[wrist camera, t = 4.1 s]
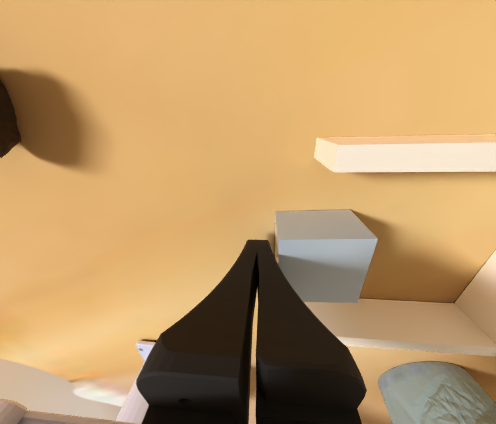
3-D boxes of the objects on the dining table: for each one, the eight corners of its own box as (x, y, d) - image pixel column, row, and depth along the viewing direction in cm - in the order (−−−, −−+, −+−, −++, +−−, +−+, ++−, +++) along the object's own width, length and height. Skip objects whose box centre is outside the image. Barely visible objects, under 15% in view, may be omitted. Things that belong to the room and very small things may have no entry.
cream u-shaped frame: (461, 312, 14) (507, 357, 11) (293, 303, 15) (299, 342, 12) (613, 131, 8) (786, 137, 5) (316, 137, 9) (338, 145, 6)
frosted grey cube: (338, 265, 13) (357, 303, 10) (275, 264, 13) (277, 301, 11) (349, 209, 11) (378, 238, 8) (275, 211, 11) (278, 239, 9)
